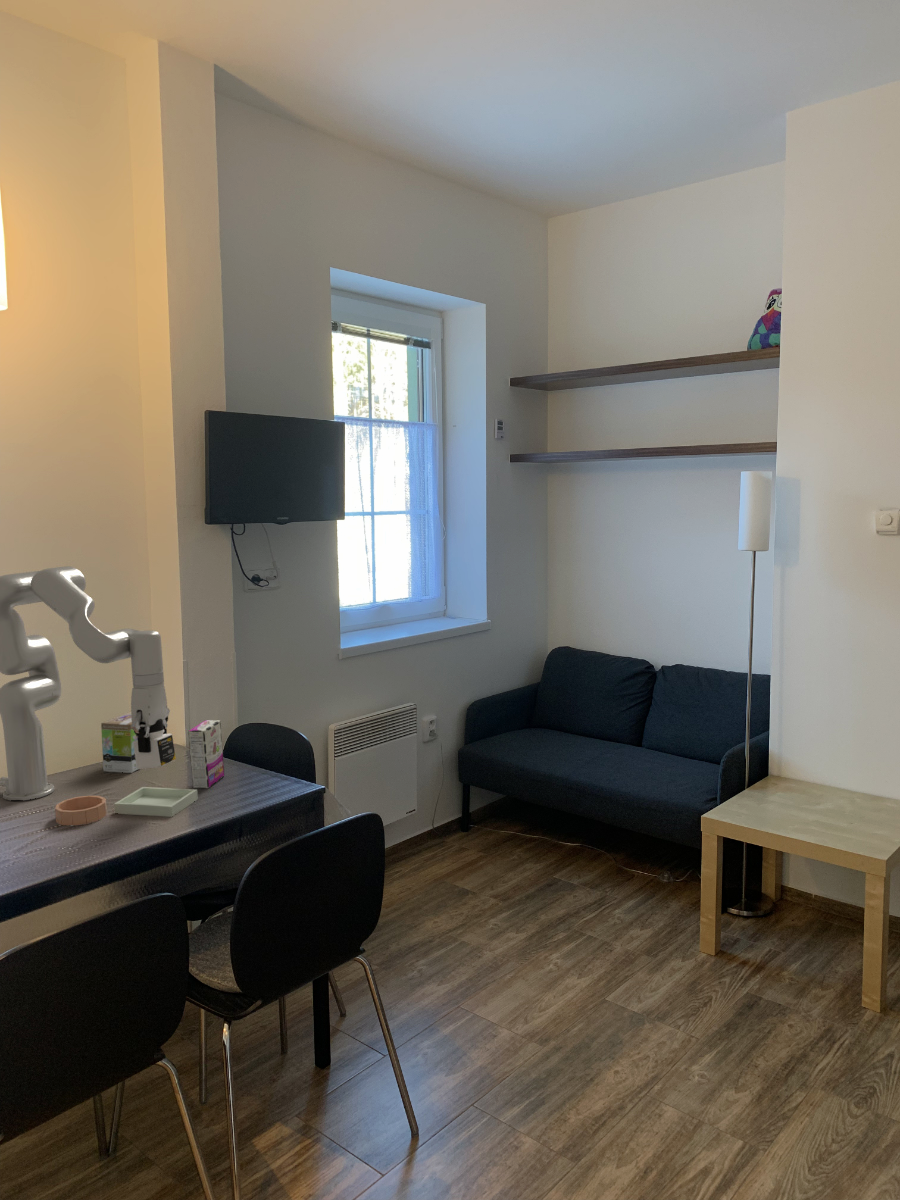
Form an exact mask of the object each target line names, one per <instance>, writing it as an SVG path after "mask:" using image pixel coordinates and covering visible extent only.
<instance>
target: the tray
mask: <svg viewBox="0 0 900 1200" xmlns="http://www.w3.org/2000/svg"><path fill="white" fill-rule="evenodd" d="M197 800H199V796H198V789H195V788H193V789H191V788H169V787H151V786H150V787H147V786H141V787H139V788H138V789H137V790H135V791H133V792H131V793H130V794H128V795H126V796H125V797H123V798H122V799H120V800H117V801H116V802H115V803H113V807H114V814H115V813H118V814H117V815H119V814H121V815H134V816H135V815H136V816H151V817H152V816H153V817H169V818H173V817H174V816H175V814H176V815H177V814H178V813H180V812H181V811H183V810H184V809H187V807H189V806H190V805H191V804H194V801H195V802H196V801H197ZM172 816H173V817H172Z"/></svg>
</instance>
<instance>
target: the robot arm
mask: <svg viewBox="0 0 900 1200" xmlns="http://www.w3.org/2000/svg"><path fill="white" fill-rule="evenodd" d="M86 587H87V581H86V578H85V575H84V574H83V573H82V572H81V570H79V569H78V568H76V567H73V566H68V565H67V566H59V567H58V566H56V567H51V568H45V569H42V570H36V571H35V570H34V571H28V572H27V571H26V572H19V573H18V572H17V573H9V574H4V575H0V673H1V674H2V675H5V676H14V675H20V674H23V673H27V672H28V676H25V677H21V678H17V679H14V680H11V681H10V680H9V682H6V683H4V684H3V685H2V686H1V687H0V717H1V722H2V729H3V737H4V738H3V739H4V747H5V758H6V772H7V776H1V777H0V787H4V788H5V790H4V791H3V793H2V797H3V799H4V798H5V800H6V799H9V800H8V801H11V800H23V801H30V799H31V800H35V798H36V799H40V798H43V797H47V796H48V795H51V794H52V793H53V792H54V791H55V786H54V784H53V783H50V782H48V773H47V761H46V760H47V759H46V751H45V741H44V740H45V738H44V729H43V724H42V723H41V721H40V719H39V718H38V717H37V716H38V715H36V711H40V710H42V709H46V708H49V707H52V706H53V705H55V704H56V703H57V702H58V701H59V700H60V698H61V697H62V696H61V695H62V683H61V678H60V673H59V667H58V662H57V657H56V652H55V649H54V646H53V645H52V643H51V642H50V640H49V639H47V638H46V637H45V636H43V635H39V634H30V635H27V633H26V628H25V623H24V621H23V619H22V616H20V613H18V611H16V610H15V609H14V608H15V607H17V606H18V607H19V606H23V605H29V604H30V605H31V604H37V603H44V604H45V605H46V606H47V607H49V609H51V610H52V611H53V612H55V614H56V615H58V616H59V617H61V618H62V619H63V620H64V621H65V622H66V623H67V624H68V630H69V634H70V636H71V639H72V641H73V643H74V644H75V646H76V647H77V648H78V649H80V650H81V651H82V652H83V653H84V654H85V655H87V656H88V657H89V658H90V659H91V660H93V661H95V662H97V663H100V664H111V663H114V662H115V663H116V662H117V661H121V660H126V659H130V663H131V664H130V665H131V675H132V690H131V697H130V699H131V700H130V701H131V702H130V707H131V708H130V712H131V719H132V725H131V727H132V729H133V730H134V733H135V734H136V737H137V739H138V751H139V752H143V753H149V752H151V744H150V737H148V734H149V729H150V726H152V725H153V724H155V723H156V721H157V720H159V719H162V720H163V727H164V733H163V734H168V732H167V731H168V729H167V728H168V726H169V725H168V721H169V715H170V711H171V710H170V708H169V707H168V699H167V693H166V688H165V687H166V686H165V680H164V679H165V676H164V666H163V665H164V662H163V661H164V660H163V650H162V649H163V647H162V635H161V634H160V632H158V631H157V630H138V629H133V628H122V629H117V630H112V631H107V632H103V631H101V630H100V629H99V628H98V627H96V626H95V625H94V624H92V623H91V621H90V620H89V618H90V617H91V615H92V614H93V612H94V609H95V607H96V606H95V601H94V599H93V597H90V595H88V594H87V593H86V592H85V589H86ZM142 723H146V724H142ZM142 728H145V731H143V729H142Z"/></svg>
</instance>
